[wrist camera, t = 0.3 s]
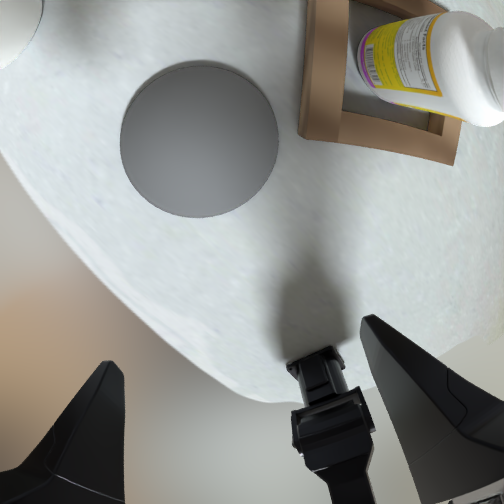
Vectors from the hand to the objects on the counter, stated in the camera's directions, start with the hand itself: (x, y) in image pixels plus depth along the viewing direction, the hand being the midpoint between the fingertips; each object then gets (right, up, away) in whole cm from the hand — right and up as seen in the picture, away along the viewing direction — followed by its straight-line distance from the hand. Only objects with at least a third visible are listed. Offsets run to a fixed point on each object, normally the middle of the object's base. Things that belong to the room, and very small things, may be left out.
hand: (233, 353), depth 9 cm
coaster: (-3, +11, +9) cm, 14 cm away
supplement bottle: (+11, +18, +7) cm, 22 cm away
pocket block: (+11, +18, +7) cm, 22 cm away
